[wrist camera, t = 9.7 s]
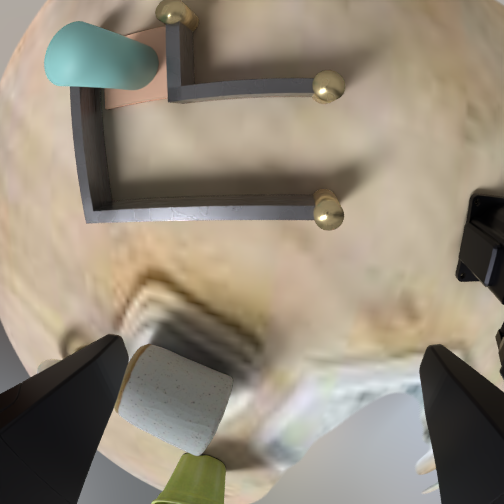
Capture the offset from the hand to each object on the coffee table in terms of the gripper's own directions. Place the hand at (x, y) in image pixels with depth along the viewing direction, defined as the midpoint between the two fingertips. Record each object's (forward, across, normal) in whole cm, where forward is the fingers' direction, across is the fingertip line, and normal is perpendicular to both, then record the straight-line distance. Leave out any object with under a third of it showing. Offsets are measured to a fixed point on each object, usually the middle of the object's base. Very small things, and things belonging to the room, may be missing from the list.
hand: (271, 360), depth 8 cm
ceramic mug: (+13, +9, +15) cm, 22 cm away
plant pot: (+13, +10, +33) cm, 37 cm away
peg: (+12, +9, -10) cm, 18 cm away
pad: (+12, +9, -10) cm, 19 cm away
